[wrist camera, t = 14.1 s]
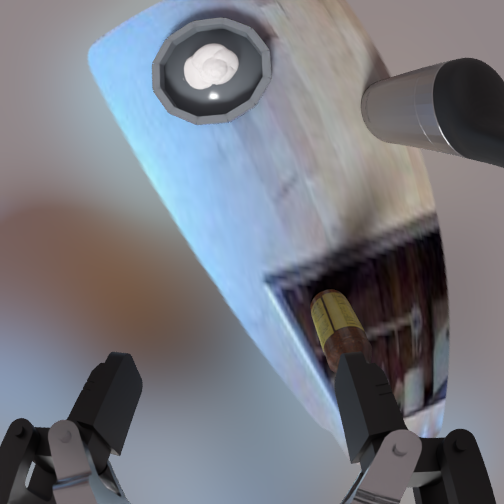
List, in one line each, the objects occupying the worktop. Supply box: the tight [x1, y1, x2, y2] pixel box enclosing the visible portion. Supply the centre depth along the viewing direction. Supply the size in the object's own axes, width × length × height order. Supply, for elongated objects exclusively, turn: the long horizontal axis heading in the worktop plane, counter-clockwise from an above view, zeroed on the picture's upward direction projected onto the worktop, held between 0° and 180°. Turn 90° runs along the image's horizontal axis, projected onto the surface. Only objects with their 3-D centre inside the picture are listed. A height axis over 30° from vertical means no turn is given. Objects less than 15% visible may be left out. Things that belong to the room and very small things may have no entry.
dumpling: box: [183, 43, 239, 89], centre depth 28 cm, size 7×5×4 cm
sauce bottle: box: [310, 289, 372, 373], centre depth 35 cm, size 7×6×20 cm
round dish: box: [152, 17, 271, 125], centre depth 29 cm, size 15×15×3 cm
